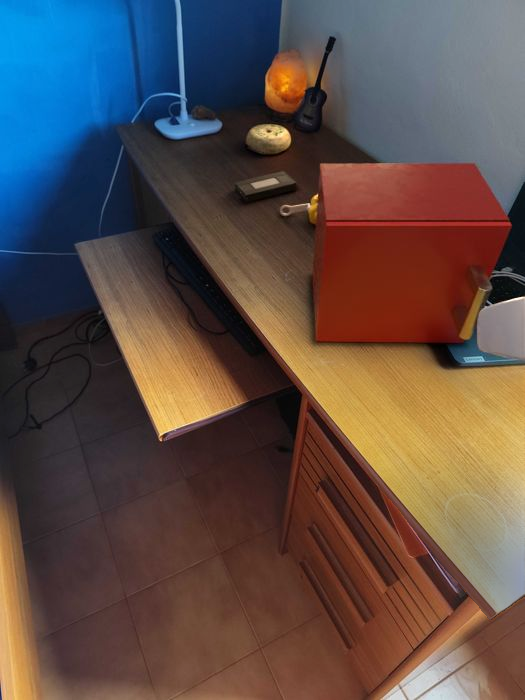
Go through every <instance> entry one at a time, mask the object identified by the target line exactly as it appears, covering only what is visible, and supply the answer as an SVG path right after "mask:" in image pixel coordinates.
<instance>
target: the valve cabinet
mask: <svg viewBox="0 0 525 700" xmlns="http://www.w3.org/2000/svg"><path fill="white" fill-rule="evenodd" d="M318 172H319V174H318V175H319V176H318V187H317V189H318V190H317V195H318V201H317V216H316V225H315V231H314V245H313V246H314V247H313V261H312V274H311V275H312V276H311V277H312V279H311V280H312V295H313V311H314V329H315V330H314V331H315V333H316V332H317V320H318V309H319V297H320V286H321V274H322V262H323V251H324V239H325V228H326V222H510V217H508V215H507V214H506V212H505V210H504V208H503V207H502V205H501V204H500V202H499V200H498V199H497V198H496V196H495V193H494V192H493V191H492V189H491V187H490V185H489V184H488V182H487V181H486V179H485V177H484V176H483V174H482V173H481V171H480V169H479V168H478V166H477V165H476V163H475V162H453V163H452V162H446V163H445V162H442V163H441V162H437V163H436V162H433V163H432V162H431V163H430V162H429V163H421V162H418V163H417V162H416V163H410V162H409V163H320V164H319V171H318Z"/></svg>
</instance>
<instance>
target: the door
mask: <svg viewBox="0 0 525 700" xmlns="http://www.w3.org/2000/svg"><path fill="white" fill-rule="evenodd" d="M512 227H513V224H512V223H511V222H510V221H509V222H326V228H325V239H324V251H323V262H322V274H321V286H320V297H319V309H318V320H317V332H316V331H315V341H316V342H324V343H325V342H326V343H328V342H331V343H332V342H334V343H340V342H341V343H343V342H344V343H414V344H415V343H419V344H421V343H422V344H424V343H427V344H463V343H464V342H465V341H467V340H470V339H471V338H472V337H473V334H474V332H475V329H476V328H477V321H478V314H479V312H480V310H482V309H483V308H485V307H486V304H487V301H488V299H489V297H490V295H491V293H492V291H493V285H492V283H491V281H490V279H491V277H492V275H493V272H494V269H495V267H496V266H497V262H498V260H499V257H500V256H501V253H502V251H503V248H504V245H505V243H506V241H507V239H508V236H509V233H510V231H511V230H512Z"/></svg>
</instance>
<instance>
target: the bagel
mask: <svg viewBox="0 0 525 700" xmlns="http://www.w3.org/2000/svg"><path fill="white" fill-rule="evenodd" d="M291 137H292V136H291V134H290V132H289V130H288V129H287V128H285V127H284V126H282V125H278V124H271V123H269V124H267V123H265V124H258V125H256V126H253V127H252V128H251V129H249V131H248V132H247V135H246V137H245V144H247V145H248V146H249V147H250V148H252V149H254V150H257V151H254V150H252V149H250V148H248V147H247V149H248V150H251V151H252V152H254V153H257V154H259V155H278V154H280V153H282V152H284V151H286V150H287V149H288V148H289V147H290V145H291V143H292V138H291ZM247 145H246V146H247ZM258 151H260V152H258ZM262 152H264V153H262Z"/></svg>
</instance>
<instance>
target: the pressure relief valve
mask: <svg viewBox="0 0 525 700" xmlns="http://www.w3.org/2000/svg"><path fill="white" fill-rule="evenodd" d="M317 201H318V194H315V195H313V197H312V198H311V200H310V203H301V204H296V205H288V204H284V205H282V206H281V207H280V208H279V213H280V215H281V216H284V217H288V216H290V215H291V214H295V213H299V212H308V218H309V222H310V223H311V224H312V225H315V226H316V216H317ZM285 208H286V209H288V210H289V211H288V212H287V213H285V212H283V209H285Z"/></svg>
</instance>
